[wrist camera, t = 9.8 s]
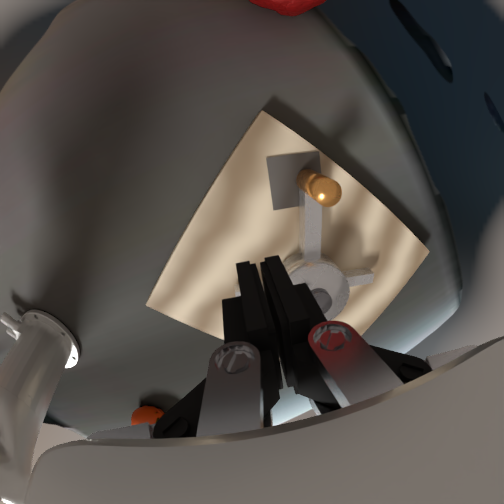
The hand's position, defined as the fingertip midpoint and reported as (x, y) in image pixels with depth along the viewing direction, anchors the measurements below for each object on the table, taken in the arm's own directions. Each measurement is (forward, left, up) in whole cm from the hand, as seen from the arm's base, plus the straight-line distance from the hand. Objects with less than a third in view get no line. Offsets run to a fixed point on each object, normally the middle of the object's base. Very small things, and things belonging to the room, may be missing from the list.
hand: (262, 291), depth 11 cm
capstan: (+11, -3, -18) cm, 21 cm away
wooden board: (+13, -5, -20) cm, 24 cm away
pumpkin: (+8, -45, -21) cm, 50 cm away
